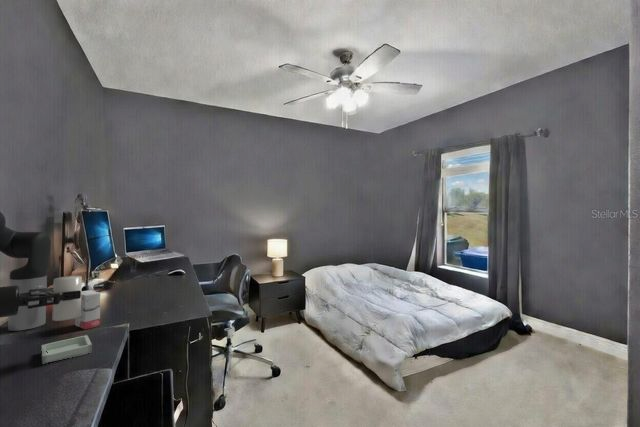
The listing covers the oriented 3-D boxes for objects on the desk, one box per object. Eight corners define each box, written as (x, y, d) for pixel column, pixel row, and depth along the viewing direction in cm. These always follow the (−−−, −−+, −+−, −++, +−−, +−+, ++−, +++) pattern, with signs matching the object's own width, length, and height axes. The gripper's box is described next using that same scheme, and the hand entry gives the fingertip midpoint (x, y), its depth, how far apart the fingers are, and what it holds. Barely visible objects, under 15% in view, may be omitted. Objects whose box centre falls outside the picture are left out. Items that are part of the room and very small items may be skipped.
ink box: (100, 325, 101) (101, 292, 101) (83, 330, 97) (84, 295, 97) (90, 321, 106) (91, 289, 106) (74, 325, 101) (74, 292, 102)
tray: (41, 352, 80) (41, 344, 80) (87, 342, 87) (87, 334, 87) (42, 365, 73) (42, 356, 73) (91, 352, 80) (92, 344, 80)
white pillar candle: (51, 317, 80) (52, 277, 80) (79, 312, 84) (80, 275, 85) (53, 322, 76) (54, 280, 76) (82, 316, 80) (83, 277, 81)
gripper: (-12, 293, 65) (82, 282, 77) (-6, 283, 76) (77, 275, 87) (-14, 326, 65) (81, 310, 77) (-8, 312, 75) (76, 300, 87)
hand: (79, 292), depth 82 cm, fingers closed on white pillar candle, 6 cm apart
